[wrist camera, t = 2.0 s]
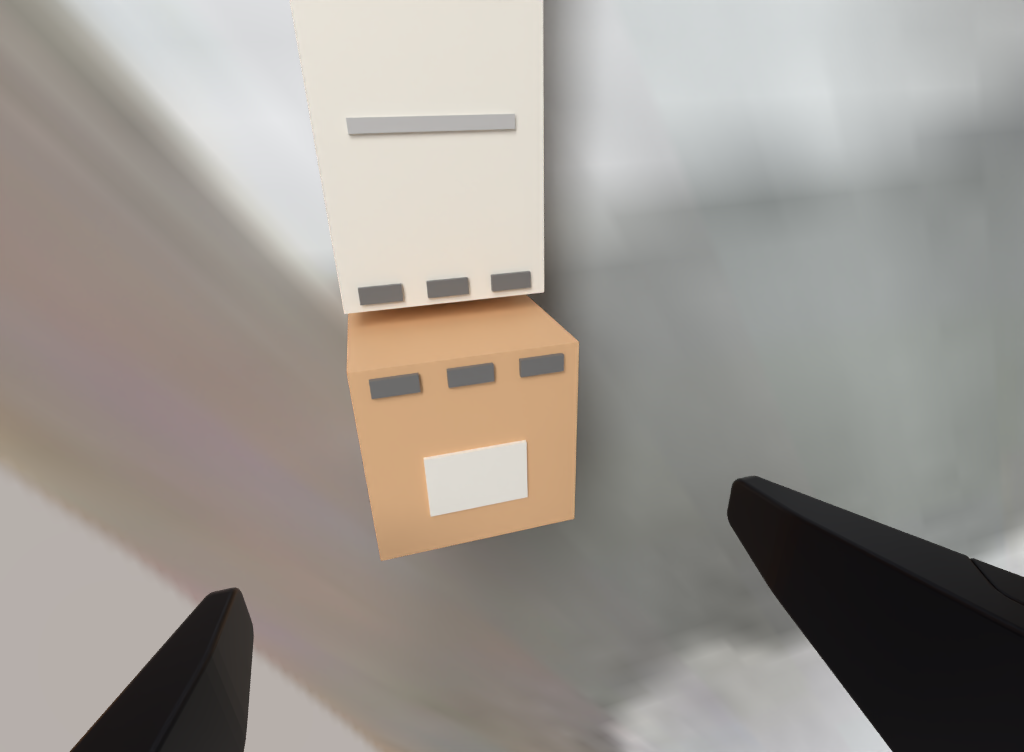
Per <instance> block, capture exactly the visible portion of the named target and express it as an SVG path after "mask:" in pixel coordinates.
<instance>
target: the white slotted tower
mask: <svg viewBox="0 0 1024 752" xmlns="http://www.w3.org/2000/svg"><path fill="white" fill-rule="evenodd" d="M290 6H291V11H292V17H293V23H294V29H295V34H296V40H297V46H298V52H299V57H300V63H301V69H302V75H303V80H304V86H305V92H306V97H307V103H308V109H309V115H310V120H311V126H312V132H313V138H314V143H315V149H316V155H317V160H318V166H319V172H320V178H321V183H322V189H323V195H324V201H325V206H326V212H327V218H328V224H329V229H330V235H331V241H332V246H333V252H334V258H335V264H336V269H337V275H338V281H339V287H340V292H341V298H342V304H343V309H344V314H349V313H358V312H367V311H376V310H386V309H395V308H404V307H413V306H423V305H432V304H441V303H450V302H459V301H469V300H478V299H487V298H496V297H506V296H515V295H524V294H533V293H542V292H544V95H543V0H290Z"/></svg>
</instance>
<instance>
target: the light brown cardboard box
mask: <svg viewBox="0 0 1024 752" xmlns="http://www.w3.org/2000/svg"><path fill="white" fill-rule="evenodd" d="M578 363H579V342H578V341H577V340H576V339H575V338H574V337H573V336H572V335H571V334H569V333H568V332H567V331H566V330H565V329H564V328H563V327H562V326H561V325H560V324H558V323H557V322H556V321H555V320H554V319H553V318H552V317H551V316H550V315H548V314H547V313H546V312H545V311H544V310H543V309H542V308H541V307H540V306H538V305H537V304H536V303H535V302H534V301H533V300H532V299H531V298H530V297H528V296H527V295H526V294H524V295H515V296H506V297H496V298H487V299H478V300H469V301H459V302H450V303H441V304H432V305H423V306H413V307H404V308H395V309H386V310H376V311H367V312H358V313H349V314H348V344H347V377H348V383H349V388H350V394H351V399H352V405H353V410H354V416H355V421H356V427H357V432H358V438H359V443H360V449H361V454H362V460H363V465H364V471H365V476H366V482H367V487H368V493H369V498H370V504H371V509H372V515H373V520H374V526H375V531H376V537H377V542H378V548H379V553H380V559H381V561H383V560H388V559H392V558H397V557H402V556H406V555H411V554H415V553H420V552H424V551H429V550H434V549H438V548H443V547H447V546H452V545H457V544H461V543H466V542H470V541H475V540H479V539H484V538H489V537H493V536H498V535H502V534H507V533H512V532H516V531H521V530H525V529H530V528H534V527H539V526H544V525H548V524H553V523H557V522H562V521H567V520H571V519H574V512H575V475H576V438H577V400H578Z"/></svg>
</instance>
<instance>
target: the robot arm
mask: <svg viewBox="0 0 1024 752" xmlns="http://www.w3.org/2000/svg"><path fill="white" fill-rule="evenodd" d="M727 516H728V520H729V523H730V525H731V527H732V528H733V530H734V532H735V533H736V535H737V537H738V538H739V540H740V541H741V543H742V545H743V546H744V548H745V549H746V551H747V553H748V554H749V556H750V558H751V559H752V561H753V562H754V564H755V566H756V567H757V569H758V570H759V572H760V574H761V575H762V577H763V579H764V580H765V582H766V583H767V585H768V586H769V588H770V589H771V591H772V592H773V594H774V595H775V596H776V598H777V599H778V601H779V602H780V603H781V605H782V606H783V607H784V609H785V610H786V611H787V613H788V614H789V615H790V617H791V618H792V619H793V621H794V622H795V623H796V625H797V626H798V627H799V629H800V630H801V631H802V633H803V634H804V635H805V636H806V638H807V639H808V640H809V642H810V643H811V644H812V646H813V647H814V648H815V650H816V651H817V652H818V654H819V655H820V656H821V658H822V659H823V660H824V662H825V663H826V664H827V666H828V667H829V668H830V670H831V671H832V672H833V674H834V675H835V676H836V678H837V679H838V680H839V681H840V683H841V684H842V685H843V687H844V688H845V689H846V691H847V692H848V693H849V695H850V696H851V697H852V699H853V700H854V701H855V703H856V704H857V705H858V707H859V708H860V709H861V711H862V712H863V713H864V715H865V716H866V717H867V719H868V720H869V721H870V723H871V724H872V725H873V726H874V728H875V729H876V730H877V732H878V733H879V734H880V736H881V737H882V738H883V740H884V741H885V742H886V744H887V745H888V746H889V748H890V749H891V750H892V752H1024V577H1022V576H1019V575H1017V574H1014V573H1011V572H1008V571H1006V570H1003V569H1000V568H998V567H995V566H992V565H990V564H987V563H985V562H982V561H979V560H977V559H974V558H971V559H970V558H969V557H968V556H966V555H963V554H961V553H958V552H955V551H953V550H950V549H947V548H945V547H942V546H939V545H937V544H934V543H932V542H929V541H926V540H924V539H921V538H918V537H916V536H913V535H910V534H908V533H905V532H902V531H900V530H897V529H895V528H892V527H889V526H887V525H884V524H881V523H879V522H876V521H873V520H871V519H868V518H865V517H863V516H860V515H858V514H855V513H852V512H850V511H847V510H844V509H842V508H839V507H836V506H834V505H831V504H829V503H826V502H823V501H821V500H818V499H815V498H813V497H810V496H807V495H805V494H802V493H800V492H797V491H794V490H792V489H789V488H786V487H784V486H781V485H778V484H776V483H773V482H771V481H768V480H765V479H763V478H760V477H757V476H749V477H744V478H739V479H737V480H735V481H734V483H733V484H732V488H731V494H730V499H729V504H728V510H727ZM253 638H254V634H253V625H252V621H251V618H250V615H249V612H248V609H247V606H246V604H245V601H244V598H243V595H242V593H241V591H240V590H239V589H238V588H229V589H224V590H220V591H215V592H212V593H210V594H208V595H207V596H206V597H205V598H204V599H203V600H202V602H201V603H200V604H199V605H198V606H197V607H196V608H195V609H194V611H193V612H192V613H191V614H190V615H189V616H188V618H187V619H186V620H185V621H184V622H183V623H182V624H181V625H180V627H179V628H178V629H177V630H176V631H175V632H174V633H173V635H172V636H171V637H170V638H169V639H168V640H167V641H166V643H165V644H164V645H163V646H162V647H161V648H160V649H159V651H158V652H157V653H156V654H155V655H154V656H153V657H152V659H151V660H150V661H149V662H148V663H147V664H146V665H145V667H144V668H143V669H142V670H141V671H140V672H139V673H138V675H137V676H136V677H135V678H134V679H133V680H132V681H131V682H130V684H129V685H128V686H127V687H126V688H125V689H124V690H123V692H122V693H121V694H120V695H119V696H118V697H117V698H116V700H115V701H114V702H113V703H112V704H111V705H110V706H109V707H108V709H107V710H106V711H105V712H104V713H103V714H102V716H101V717H100V718H99V719H98V720H97V721H96V722H95V723H94V725H93V726H92V727H91V728H90V729H89V730H88V731H87V733H86V734H85V735H84V736H83V737H82V738H81V739H80V741H79V742H78V743H77V744H76V745H75V746H74V747H73V748H72V750H71V751H70V752H244V746H245V740H246V730H247V718H248V706H249V692H250V679H251V665H252V652H253Z"/></svg>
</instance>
